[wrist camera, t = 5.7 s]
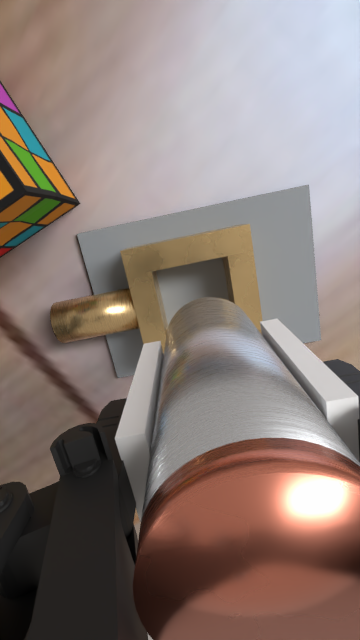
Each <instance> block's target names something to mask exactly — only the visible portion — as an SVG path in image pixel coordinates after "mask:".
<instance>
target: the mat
mask: <svg viewBox="0 0 360 640" xmlns="http://www.w3.org/2000/svg"><path fill="white" fill-rule="evenodd" d="M239 224H250V229H251V237H252V244H253V252H254V259H255V267H256V274H257V282H258V290H259V297H260V305H261V312H262V320H263V321H267V320H272V319H278V320H279V321H280V322H281V323H282V324H283V325H284V326H285V327H287V328H288V329H289V330H290V331H291V332H292V333H293V334H294V335H295V336H296V337H297V338H298V339H299V340H300V341H301V342H302V343H308V342H313V341H318V340H321V334H320V321H319V308H318V295H317V282H316V270H315V257H314V244H313V231H312V218H311V206H310V193H309V185H305V186H300V187H295V188H291V189H286V190H281V191H276V192H272V193H267V194H262V195H258V196H253V197H248V198H244V199H239V200H234V201H230V202H225V203H220V204H215V205H211V206H206V207H201V208H197V209H192V210H187V211H183V212H178V213H173V214H168V215H164V216H159V217H154V218H150V219H145V220H140V221H136V222H131V223H126V224H121V225H117V226H112V227H107V228H103V229H98V230H93V231H89V232H84V233H79V234H77V237H78V240H79V244H80V247H81V251H82V254H83V258H84V261H85V265H86V268H87V272H88V275H89V279H90V282H91V286H92V289H93V293H94V295H96V294H101V293H106V292H111V291H116V290H121V289H126V288H129V284H128V280H127V276H126V272H125V268H124V264H123V260H122V256H121V253H120V251H121V250H124V249H126V248H129V247H134V246H139V245H144V244H148V243H153V242H158V241H163V240H168V239H172V238H177V237H182V236H187V235H192V234H196V233H201V232H206V231H211V230H216V229H220V228H225V227H230V226H235V225H239ZM156 274H157V278H158V282H159V287H160V291H161V296H162V300H163V305H164V309H165V314H166V318H167V323H168V326H169V323H170V321H171V319H172V318H173V316H174V315H175V314H176V312H177V311H178V310H179V309H180V308H181V307H183V306H184V305H185V304H187V303H189V302H191V301H193V300H196V299H199V298H204V297H218V298H223V299H226V300H229V296H228V290H227V284H226V277H225V271H224V265H223V259H222V257H220V258H215V259H210V260H205V261H201V262H196V263H191V264H186V265H181V266H176V267H171V268H166V269H161V270H156ZM106 338H107V342H108V345H109V349H110V352H111V356H112V359H113V363H114V366H115V370H116V373H117V377H118V378H120V377H126V376H131V375H134V374H135V371H136V368H137V364H138V361H139V358H140V355H141V351H142V348H143V345H144V344H143V340H142V336H141V332H140V328H139V329H134V330H128V331H123V332H118V333H113V334H108V335H106Z"/></svg>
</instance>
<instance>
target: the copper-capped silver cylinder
mask: <svg viewBox="0 0 360 640" xmlns="http://www.w3.org/2000/svg"><path fill="white" fill-rule="evenodd" d="M133 598H134V603H135V607H136V611H137V613H138V616H139V618H140V620H141V623H142V624H143V626H144V628H145V629H146V631H147V632H148V634H149V635H150V636H151V637H152V639H153V640H360V462H359V461H358V460H357V458H356V457H355V456H354V454H353V453H352V452H351V451H350V449H349V448H348V447H347V445H346V444H345V443H344V441H343V440H342V439H341V437H340V436H339V435H338V434H337V432H336V431H335V430H334V428H333V427H332V426H331V424H330V423H329V422H328V420H327V419H326V418H325V417H324V415H323V414H322V413H321V411H320V410H319V409H318V407H317V406H316V405H315V404H314V402H313V401H312V400H311V398H310V397H309V396H308V394H307V393H306V392H305V390H304V389H303V388H302V387H301V385H300V384H299V383H298V381H297V380H296V379H295V377H294V376H293V375H292V374H291V372H290V371H289V370H288V368H287V367H286V366H285V364H284V363H283V362H282V360H281V359H280V358H279V357H278V355H277V354H276V353H275V351H274V350H273V349H272V347H271V346H270V345H269V343H268V342H267V341H266V340H265V338H264V337H263V336H262V334H261V333H260V332H259V330H258V329H257V328H256V327H255V325H254V324H253V323H252V321H251V320H250V319H249V317H248V316H247V315H246V313H245V312H244V311H243V310H242V309H241V308H240V307H239V306H237V305H236V304H234V303H233V302H231V301H229V300H226V299H223V298H218V297H204V298H199V299H196V300H193V301H191V302H189V303H187V304H185V305H184V306H183V307H181V308H180V309H179V310H178V311H177V312H176V314H175V315H174V316H173V318H172V319H171V321H170V323H169V326H168V329H167V334H166V342H165V349H164V356H163V364H162V371H161V378H160V386H159V393H158V400H157V408H156V415H155V423H154V430H153V437H152V445H151V452H150V459H149V467H148V474H147V482H146V489H145V496H144V504H143V511H142V518H141V526H140V533H139V540H138V548H137V555H136V563H135V570H134V578H133Z"/></svg>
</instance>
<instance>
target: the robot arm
mask: <svg viewBox="0 0 360 640" xmlns="http://www.w3.org/2000/svg"><path fill="white" fill-rule="evenodd" d="M260 326H261V333H262V336H263V337H264V338H265V340H266V341H267V342H268V343H269V345H270V346H271V347H272V349H273V350H274V351H275V353H276V354H277V355H278V357H279V358H280V359H281V360H282V362H283V363H284V364H285V366H286V367H287V368H288V370H289V371H290V372H291V374H292V375H293V376H294V377H295V379H296V380H297V381H298V383H299V384H300V385H301V387H302V388H303V389H304V390H305V392H306V393H307V394H308V396H309V397H310V398H311V400H312V401H313V402H314V404H315V405H316V406H317V407H318V409H319V410H320V411H321V413H322V414H323V415H324V417H325V418H326V419H327V420H328V422H329V423H330V424H331V426H332V427H333V428H334V430H335V431H336V432H337V434H338V435H339V436H340V437H341V439H342V440H343V441H344V443H345V444H346V445H347V447H348V448H349V449H350V451H351V452H352V453H353V454H354V456H355V457H356V458H357V460H358V461H359V462H360V371H359V370H357V369H356V368H355V367H354V366H353V365H351V364H349V363H346V362H343V361H341V360H338V359H336V360H331V361H325V362H322V361H321V360H320V359H319V358H318V357H317V356H316V355H315V354H314V353H313V352H312V351H311V350H310V349H308V348H307V347H306V346H305V345H304V344H303V343H302V342H301V341H300V340H299V339H298V338H297V337H296V336H295V335H294V334H293V333H292V332H291V331H290V330H289V329H288V328H287V327H285V326H284V325H283V324H282V323H281V322H280V321H279V320H278V319H272V320H267V321H261V322H260ZM163 356H164V354H163V350H162V346H161V341H156V342H151V343H145V344H144V345H143V348H142V351H141V355H140V358H139V361H138V364H137V368H136V371H135V374H134V377H133V381H132V384H131V387H130V390H129V394H128V397H127V398H125V399H120V400H114V401H110V403H109V404H108V405H107V406H106V407H105V408H104V409H103V410H102V411H101V413H100V416H99V418H98V421H97V423H96V424H95V423H87V424H82V425H78V426H76V427H73V428H71V429H69V430H67V431H66V432H64V433H62V434H61V435H60V436H59V437H58V438H57V439H56V440H55V441H54V442H53V443H52V445H51V447H50V450H51V453H52V456H53V458H54V461H55V463H56V466H57V469H58V471H59V474H60V479H59V481H58V482H56V483H54V484H52V485H50V486H47V487H45V488H42V489H40V490H37V491H35V492H32V493H30V494H29V492H28V490H27V488H26V485H24V484H23V483H21V482H10V483H7V484H3V485H0V640H148V634H147V631H146V629H145V628H144V626H143V624H142V623H141V620H140V618H139V616H138V613H137V611H136V607H135V603H134V598H133V578H134V570H135V563H136V555H137V548H138V539H137V534H136V530H135V527H134V524H133V521H134V514H135V508H136V510H137V513H138V516H139V519H140V522H141V518H142V511H143V504H144V496H145V489H146V482H147V474H148V467H149V459H150V452H151V445H152V437H153V430H154V423H155V415H156V408H157V400H158V393H159V386H160V378H161V371H162V364H163Z"/></svg>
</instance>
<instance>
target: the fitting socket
mask: <svg viewBox="0 0 360 640" xmlns="http://www.w3.org/2000/svg"><path fill="white" fill-rule="evenodd" d="M120 253H121V256H122V260H123V264H124V268H125V272H126V276H127V280H128V284H129V288H126V289H121V290H116V291H111V292H106V293H101V294H96V295H91V296H86V297H81V298H76V299H71V300H66V301H61V302H56V303H54V304H53V305H52V307H51V311H50V319H51V325H52V329H53V331H54V334H55V336H56V337H57V339H58V340H59V341H60V342H62V343H67V342H72V341H77V340H82V339H87V338H92V337H98V336H103V335H108V334H113V333H118V332H123V331H128V330H134V329H139V328H140V332H141V336H142V340H143V344H145V343H151V342H156V341H161V346H162V350H163V354H164V349H165V342H166V334H167V329H168V323H167V318H166V314H165V309H164V305H163V300H162V296H161V291H160V287H159V282H158V278H157V274H156V270H161V269H166V268H171V267H176V266H181V265H186V264H191V263H196V262H201V261H205V260H210V259H215V258H220V257H222V259H223V265H224V271H225V277H226V284H227V290H228V296H229V301H231V302H233V303H234V304H236V305H237V306H239V307H240V308H241V309H242V310H243V311H244V312H245V313H246V315H247V316H248V317H249V319H250V320H251V321H252V323H253V324H254V325H255V327H256V328H257V329H258V330H259V332H260V333H261V326H260V322H261V321H263V320H262V312H261V305H260V297H259V290H258V282H257V274H256V267H255V259H254V252H253V244H252V237H251V229H250V224H239V225H235V226H230V227H225V228H220V229H216V230H211V231H206V232H201V233H196V234H192V235H187V236H182V237H177V238H172V239H168V240H163V241H158V242H153V243H148V244H144V245H139V246H134V247H129V248H126V249H124V250H121V251H120ZM261 334H262V333H261Z"/></svg>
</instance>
